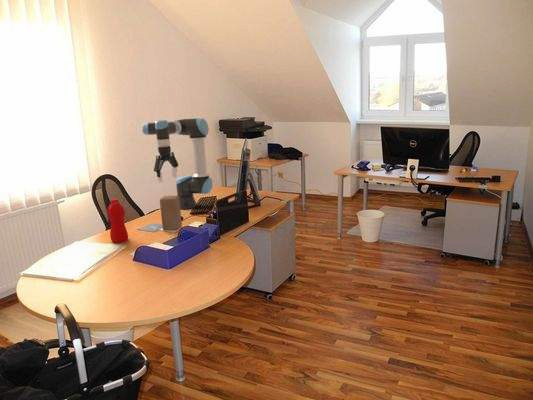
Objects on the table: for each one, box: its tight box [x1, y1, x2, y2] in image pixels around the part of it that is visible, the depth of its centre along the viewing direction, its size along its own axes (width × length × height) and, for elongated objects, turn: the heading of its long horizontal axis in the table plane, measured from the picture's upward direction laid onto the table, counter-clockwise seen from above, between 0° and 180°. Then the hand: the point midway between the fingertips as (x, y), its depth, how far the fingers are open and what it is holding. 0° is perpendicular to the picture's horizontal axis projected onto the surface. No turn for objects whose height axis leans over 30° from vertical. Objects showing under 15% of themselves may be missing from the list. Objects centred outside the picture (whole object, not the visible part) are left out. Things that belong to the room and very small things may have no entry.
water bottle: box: [106, 198, 129, 244], centre depth 259 cm, size 9×11×25 cm
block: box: [159, 195, 183, 230], centre depth 277 cm, size 10×10×20 cm
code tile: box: [137, 222, 163, 233], centre depth 284 cm, size 14×14×1 cm
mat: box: [159, 225, 185, 233], centre depth 280 cm, size 12×12×1 cm
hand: (167, 179), depth 277 cm, fingers open, 13 cm apart
